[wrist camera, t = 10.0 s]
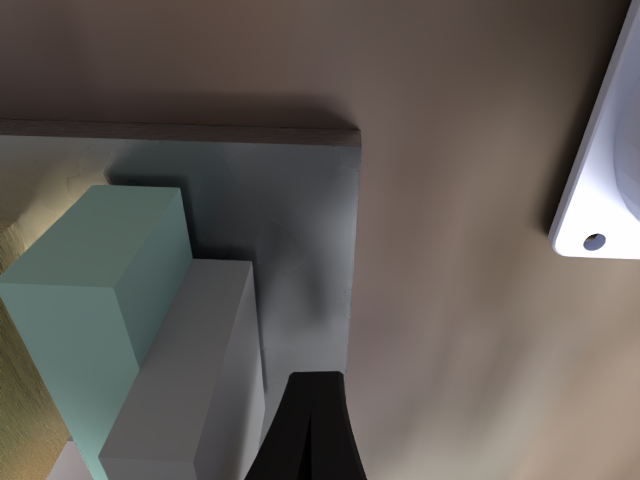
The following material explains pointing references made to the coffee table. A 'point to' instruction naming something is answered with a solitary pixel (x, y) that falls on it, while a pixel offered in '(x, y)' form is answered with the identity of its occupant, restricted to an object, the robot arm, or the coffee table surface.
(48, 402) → the brass block
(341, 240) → the grey slab
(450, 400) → the coffee table surface
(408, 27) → the coffee table surface
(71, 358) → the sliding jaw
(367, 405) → the coffee table surface
